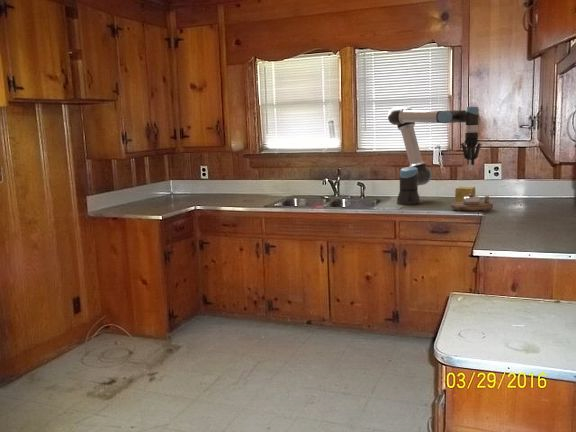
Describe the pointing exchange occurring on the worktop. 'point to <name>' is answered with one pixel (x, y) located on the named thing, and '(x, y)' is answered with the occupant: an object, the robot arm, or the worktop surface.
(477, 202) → the cover
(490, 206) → the turntable
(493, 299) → the worktop surface
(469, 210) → the turntable base
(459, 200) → the cheese
